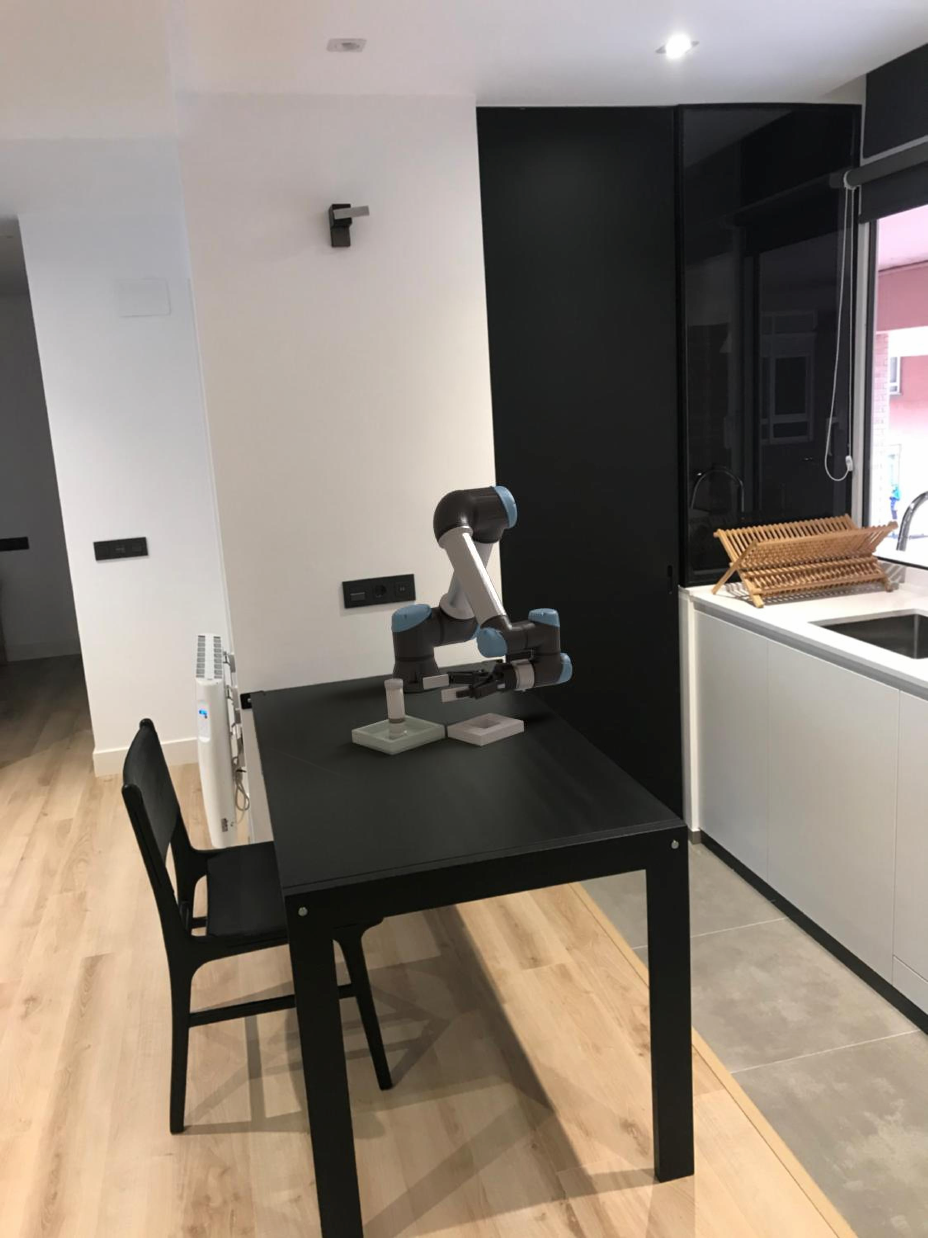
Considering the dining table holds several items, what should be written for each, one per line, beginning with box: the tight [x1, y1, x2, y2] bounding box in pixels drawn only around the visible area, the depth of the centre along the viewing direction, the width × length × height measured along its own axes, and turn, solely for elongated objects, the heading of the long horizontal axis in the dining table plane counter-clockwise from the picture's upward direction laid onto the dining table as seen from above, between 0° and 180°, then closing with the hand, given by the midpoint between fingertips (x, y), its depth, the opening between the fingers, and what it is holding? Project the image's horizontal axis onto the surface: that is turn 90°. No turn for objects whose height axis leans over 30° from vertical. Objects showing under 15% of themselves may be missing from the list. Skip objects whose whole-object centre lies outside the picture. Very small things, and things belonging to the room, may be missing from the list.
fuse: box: [384, 678, 407, 739], centre depth 242 cm, size 4×4×14 cm
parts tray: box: [351, 714, 446, 756], centre depth 244 cm, size 16×16×3 cm
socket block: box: [446, 712, 525, 747], centre depth 243 cm, size 14×12×2 cm
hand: (432, 689), depth 245 cm, fingers open, 13 cm apart
